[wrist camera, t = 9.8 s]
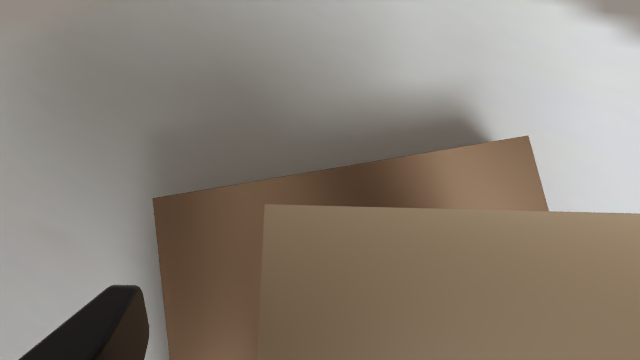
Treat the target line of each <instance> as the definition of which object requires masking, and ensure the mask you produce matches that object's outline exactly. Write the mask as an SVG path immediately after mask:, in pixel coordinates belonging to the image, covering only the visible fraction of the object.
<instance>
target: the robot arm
mask: <svg viewBox="0 0 640 360" xmlns="http://www.w3.org/2000/svg"><path fill="white" fill-rule="evenodd" d="M148 339H149V324H148V319H147V313H146V308H145V303H144V298H143V293H142V291H141V289H140V287H138V286H136V285H112V286H110V287H108V288H107V289H105V290H104V291H103V292H102V293H100V294H99V295H98V296H97V297H95V298H94V299H93V300H92V301H90V302H89V303H88V304H87V305H85V306H84V307H83V308H82V309H81V310H79V311H78V312H77V313H76V314H74V315H73V316H72V317H71V318H69V319H68V320H67V321H66V322H64V323H63V324H62V325H61V326H59V327H58V328H57V329H56V330H55V331H53V332H52V333H51V334H50V335H48V336H47V337H46V338H45V339H43V340H42V341H41V342H40V343H38V344H37V345H36V346H35V347H33V348H32V349H31V350H30V351H29V352H27V353H26V354H25V355H24V356H22V357H21V358H20V359H19V360H144V358H145V353H146V349H147V344H148Z"/></svg>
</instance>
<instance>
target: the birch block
mask: <svg viewBox="0 0 640 360" xmlns="http://www.w3.org/2000/svg"><path fill="white" fill-rule="evenodd" d="M257 360H640V214H630V213H590V212H550V211H510V210H470V209H430V208H390V207H350V206H310V205H271V204H265V210H264V230H263V251H262V272H261V292H260V313H259V334H258V354H257Z"/></svg>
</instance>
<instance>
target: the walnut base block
mask: <svg viewBox="0 0 640 360" xmlns="http://www.w3.org/2000/svg"><path fill="white" fill-rule="evenodd" d="M265 204H271V205H310V206H350V207H390V208H430V209H470V210H510V211H549V210H548V207H547V203H546V199H545V195H544V192H543V188H542V184H541V181H540V177H539V173H538V170H537V166H536V162H535V159H534V155H533V151H532V148H531V144H530V140H529V137H528V136H523V137H517V138H511V139H505V140H499V141H493V142H487V143H481V144H475V145H469V146H463V147H457V148H451V149H445V150H439V151H433V152H427V153H421V154H415V155H409V156H403V157H397V158H391V159H385V160H379V161H374V162H368V163H362V164H356V165H350V166H344V167H338V168H332V169H326V170H320V171H314V172H308V173H302V174H296V175H290V176H284V177H278V178H272V179H266V180H260V181H254V182H248V183H242V184H236V185H230V186H224V187H218V188H212V189H206V190H200V191H194V192H188V193H182V194H176V195H170V196H164V197H158V198H153V206H154V215H155V225H156V234H157V243H158V253H159V262H160V271H161V281H162V290H163V299H164V309H165V318H166V328H167V337H168V346H169V356H170V360H257V354H258V334H259V313H260V292H261V272H262V251H263V230H264V210H265Z"/></svg>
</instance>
